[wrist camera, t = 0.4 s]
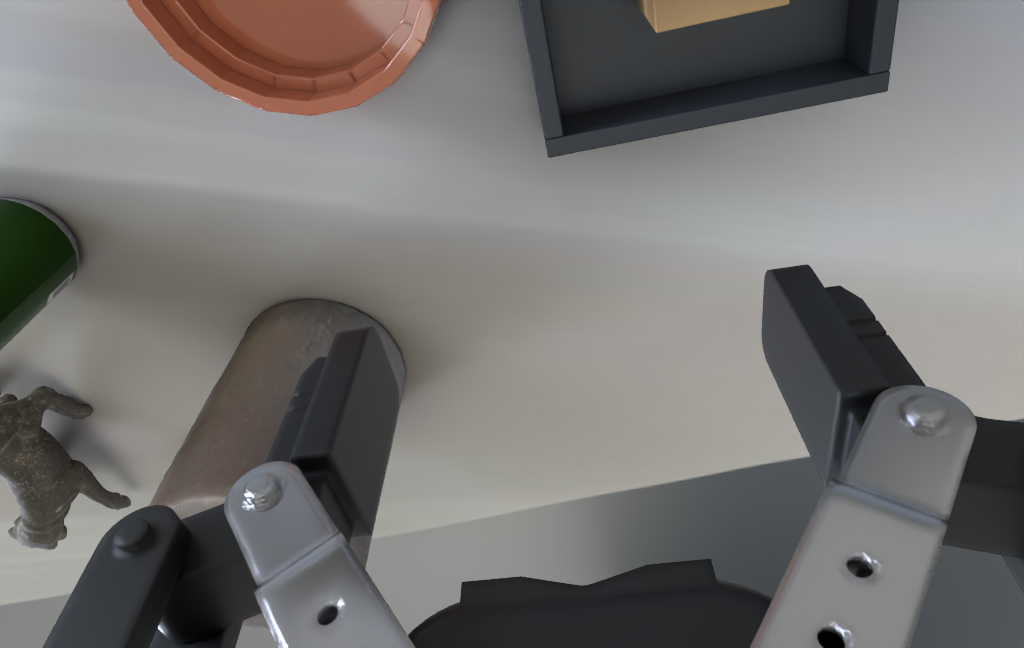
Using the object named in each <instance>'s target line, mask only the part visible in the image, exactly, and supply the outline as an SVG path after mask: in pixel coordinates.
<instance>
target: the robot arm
mask: <svg viewBox="0 0 1024 648" xmlns="http://www.w3.org/2000/svg"><path fill="white" fill-rule="evenodd" d="M762 344H763V350H764V354H765V358H766V360H767V363H768V365H769V367H770V370H771V372H772V374H773V376H774V378H775V380H776V382H777V385H778V387H779V389H780V391H781V393H782V395H783V398H784V400H785V402H786V404H787V406H788V408H789V411H790V413H791V415H792V417H793V419H794V421H795V423H796V426H797V428H798V430H799V432H800V434H801V436H802V439H803V441H804V443H805V445H806V447H807V449H808V452H809V454H810V456H811V458H812V460H813V462H814V464H815V467H816V469H817V471H818V473H819V475H820V477H821V480H822V482H823V484H824V486H825V490H824V492H823V494H822V497H821V499H820V501H819V503H818V505H817V507H816V509H815V511H814V513H813V516H812V518H811V520H810V522H809V524H808V526H807V528H806V530H805V532H804V534H803V537H802V539H801V541H800V543H799V545H798V547H797V549H796V551H795V553H794V555H793V558H792V560H791V562H790V564H789V566H788V568H787V570H786V572H785V575H784V577H783V579H782V581H781V583H780V585H779V587H778V589H777V591H776V593H775V596H774V598H772V597H770V596H768V595H766V594H765V593H763V592H761V591H759V590H756V589H753V588H751V587H748V586H746V585H743V584H739V583H736V582H731V581H728V580H723V579H716V577H715V573H714V569H713V565H712V562H711V559H704V560H693V561H682V562H671V563H661V564H651V565H645V566H643V567H639V568H637V569H634V570H631V571H628V572H625V573H622V574H619V575H616V576H613V577H611V578H608V579H605V580H602V581H599V582H596V583H593V584H590V585H584V586H579V585H572V584H566V583H559V582H553V581H546V580H540V579H533V578H527V577H511V578H500V579H490V580H479V581H468V582H462V587H461V599H460V602H459V603H456V604H453V605H451V606H449V607H447V608H445V609H443V610H441V611H439V612H437V613H436V614H434V615H432V616H431V617H429V618H428V619H426V620H425V621H424V622H422V623H421V624H420V625H419V626H417V627H416V628H415V629H414V630H413V631H412V632H411V633H410V634H409V635H407V634H406V632H405V631H404V629H403V627H402V626H401V625H400V623H399V621H398V620H397V618H396V617H395V615H394V614H393V612H392V610H391V609H390V607H389V606H388V604H387V603H386V601H385V600H384V598H383V597H382V595H381V593H380V592H379V590H378V589H377V587H376V586H375V584H374V582H373V581H372V579H371V578H370V576H369V575H368V573H367V572H366V570H365V568H364V567H363V565H362V564H361V562H360V561H359V559H358V557H357V556H356V554H355V553H354V551H353V550H352V548H351V547H350V545H349V544H350V540H351V537H359V536H369V535H372V531H373V526H374V521H375V517H376V512H377V507H378V503H379V498H380V494H381V489H382V484H383V480H384V475H385V470H386V466H387V461H388V457H389V452H390V447H391V443H392V438H393V433H394V429H395V424H396V420H397V415H398V410H399V389H398V384H397V380H396V378H395V375H394V372H393V370H392V367H391V365H390V362H389V360H388V357H387V354H386V352H385V349H384V347H383V344H382V342H381V339H380V337H379V334H378V332H377V330H376V329H375V328H374V327H372V326H371V327H364V328H357V329H350V330H343V331H338V332H337V333H336V334H335V337H334V339H333V342H332V345H331V347H330V350H329V353H328V355H327V356H326V357H319V358H316V359H315V361H314V362H313V363H312V364H311V365H310V366H309V367H308V368H307V369H306V370H305V371H304V373H303V374H302V375H301V377H300V379H299V382H298V384H297V386H296V389H295V391H294V397H292V399H291V401H290V403H289V406H288V408H287V409H288V412H286V413H285V416H284V418H283V421H282V423H281V425H280V428H279V430H278V433H277V435H276V438H275V440H274V442H273V445H272V447H271V450H270V452H269V455H268V457H267V459H266V462H265V464H263V465H260V466H258V467H256V468H254V469H252V470H251V471H249V472H247V473H246V474H245V475H243V476H242V477H241V478H240V479H239V480H238V481H237V482H236V483H235V484H234V485H233V486H232V488H231V489H230V491H229V492H228V494H227V496H226V499H225V502H224V503H223V504H221V505H218V506H216V507H213V508H211V509H208V510H205V511H203V512H200V513H197V514H195V515H192V516H190V517H187V518H184V519H182V520H181V519H180V518H179V516H178V515H177V514H176V513H175V511H174V510H173V509H172V508H170V507H168V506H165V505H152V506H148V507H144V508H142V509H139V510H137V511H135V512H132V513H131V514H129V515H127V516H126V517H124V518H123V519H121V520H120V521H118V522H117V523H116V524H115V525H114V526H113V527H112V528H111V529H110V530H109V531H108V532H107V533H106V534H105V535H104V537H103V538H102V539H101V541H100V542H99V544H98V546H97V548H96V549H95V551H94V553H93V555H92V557H91V559H90V561H89V562H88V564H87V566H86V568H85V570H84V572H83V574H82V575H81V577H80V579H79V581H78V583H77V585H76V587H75V588H74V590H73V592H72V594H71V596H70V598H69V600H68V601H67V604H66V605H65V607H64V609H63V611H62V613H61V614H60V616H59V618H58V620H57V622H56V624H55V626H54V627H53V629H52V631H51V633H50V635H49V637H48V639H47V640H46V642H45V644H44V646H43V648H235V646H236V643H237V640H238V636H239V633H240V630H241V626H242V623H243V621H244V620H246V619H248V618H251V617H253V616H256V615H258V614H261V613H263V615H264V617H265V619H266V622H267V624H268V626H269V628H270V630H271V633H272V635H273V638H274V640H275V642H276V644H277V647H278V648H910V645H911V642H912V638H913V635H914V632H915V629H916V626H917V622H918V619H919V616H920V613H921V610H922V606H923V603H924V600H925V597H926V593H927V590H928V587H929V584H930V581H931V577H932V574H933V571H934V568H935V565H936V561H937V558H938V555H939V552H940V548H941V545H947V546H953V547H959V548H964V549H970V550H976V551H982V552H987V553H993V554H999V555H1002V557H1003V559H1004V560H1005V562H1006V564H1007V566H1008V567H1009V569H1010V571H1011V572H1012V574H1013V576H1014V577H1015V579H1016V581H1017V582H1018V584H1019V586H1020V588H1021V589H1022V591H1023V593H1024V423H1021V422H1012V421H1003V420H994V419H987V418H982V417H977V416H974V414H973V413H972V411H971V410H970V409H969V408H968V407H967V406H966V405H965V404H964V403H963V402H962V401H960V400H959V399H957V398H956V397H954V396H952V395H950V394H948V393H946V392H944V391H941V390H938V389H935V388H931V387H926V386H925V384H924V383H923V381H922V380H921V379H920V377H919V376H918V375H917V373H916V372H915V371H914V369H913V368H912V366H911V365H910V364H909V362H908V361H907V360H906V358H905V357H904V355H903V354H902V353H901V351H900V350H899V349H898V347H897V346H896V345H895V343H894V342H893V340H892V339H891V338H890V336H889V335H886V331H885V330H884V328H883V327H882V325H881V324H880V323H879V321H876V319H875V316H874V314H873V313H872V312H871V310H870V309H869V308H868V306H867V305H866V304H865V302H864V301H863V299H861V298H859V297H858V296H856V295H854V294H853V293H851V292H849V291H848V290H846V289H845V288H843V287H841V286H834V287H827V288H824V286H823V285H822V283H821V282H820V280H819V279H818V277H817V276H816V274H815V273H814V271H813V270H812V268H811V267H810V266H809V265H800V266H793V267H786V268H779V269H772V270H768V271H767V272H766V274H765V279H764V296H763V315H762ZM157 628H158V629H157ZM155 633H156V634H155ZM153 638H154V639H153ZM151 643H152V644H151Z"/></svg>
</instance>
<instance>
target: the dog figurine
mask: <svg viewBox="0 0 1024 648" xmlns="http://www.w3.org/2000/svg"><path fill="white" fill-rule="evenodd" d="M0 395H1V393H0ZM46 409H50V410H52V411H55V412H57V413H60V414H62V415H64V416H68V417H71V418H73V419H84V418H86V417H87V416H90V415H91V414H92V411H91V409H90V408H89V407H88V406H86V405H84V404H80V403H78V402H76V401H75V400H74V399H73V398H71V397H69V396H65V395H62V394H59V393H58V392H56V391H55V390H53V389H52V388H49V387H46V386H42V387H39V388H37V389H35V390H34V391H33V392H32V393H31V394H30V395H28V396H27V397H25V398H23V399H20V400H17V398H16V397H15V396H14V395H12V394H5V395H3V396H2V397H0V476H2V477H3V478H4V479H5V480H6V481H7V482H8V483H9V485H10V487H11V489H12V491H13V493H14V495H15V497H16V500H17V503H18V505H19V508H20V511H21V516H20V517H19V518H18V519H16V520H15V522H14V524H15V527H12V528H11V529H9V530H8V533H9V535H10V536H11V537H12V538H14V539H15V540H17V541H18V542H19V543H20V544H22V545H25V546H28V547H31V548H39V549H45V550H51V549H55V547H56V546H57V542H58V541H59V540H63V539H65V538H66V535H67V528H66V527H65V525H64V518H65V517H66V515H67V513H68V511H69V509H70V506H71V503H72V502H73V500H74V499H75V498H76V496H77V495H78V493H82V494H84V495H86V496H87V497H89V498H90V499H92V500H94V501H96V502H98V503H101V504H103V505H104V506H106V507H108V508H111V509H115V510H119V509H121V508H126V507H128V506H130V505H131V501H130V499H129V498H128V497H127V496H124V495H120V494H119V493H112V492H109V491H107V490H106V489H104V488H103V487H102V485H101V484H100V483H99V482H98V481H97V479H96V478H95V476H94V475H93V473H92V472H91V471H90V470H89V469H88V468H87V467H86V466H85V465H84V464H83V463H82V462H80V461H77V460H72V459H71V457H70V456H69V454H68V453H67V452H66V451H65V449H64V448H63V447H62V446H61V444H60V443H59V442H58V441H57V440H56V439H55V438H54V437H53V436H52V435H51V434H49V433H48V432H47V431H46V430H45V429H43V428H42V427H41V422H42V416H43V413H44V411H45V410H46Z"/></svg>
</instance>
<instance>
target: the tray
mask: <svg viewBox="0 0 1024 648" xmlns="http://www.w3.org/2000/svg"><path fill="white" fill-rule="evenodd" d="M898 2H899V0H790V1H789V4H788V5H784V6H779V7H774V8H770V9H765V10H761V11H756V12H751V13H747V14H742V15H738V16H733V17H728V18H724V19H719V20H715V21H710V22H705V23H701V24H696V25H692V26H687V27H682V28H678V29H673V30H669V31H664V32H659V33H656V32H655V30H654V29H653V27H652V26H651V24H650V23H649V21H648V20H647V19H646V17H645V16H644V14H643V13H642V11H641V10H640V8H639V7H638V2H637V0H519V5H520V10H521V15H522V21H523V26H524V31H525V37H526V42H527V47H528V52H529V58H530V63H531V68H532V74H533V79H534V84H535V90H536V95H537V100H538V106H539V111H540V116H541V122H542V127H543V132H544V137H545V143H546V148H547V153H548V157H555V156H560V155H565V154H570V153H575V152H580V151H586V150H591V149H596V148H601V147H606V146H611V145H616V144H621V143H626V142H631V141H636V140H642V139H647V138H652V137H657V136H662V135H667V134H672V133H677V132H682V131H687V130H693V129H698V128H703V127H708V126H713V125H718V124H723V123H728V122H733V121H738V120H744V119H749V118H754V117H759V116H764V115H769V114H774V113H779V112H784V111H789V110H795V109H800V108H805V107H810V106H815V105H820V104H825V103H830V102H835V101H840V100H845V99H851V98H856V97H861V96H866V95H871V94H876V93H881V92H886V91H887V90H888V84H889V76H890V71H889V70H890V65H891V57H892V49H893V42H894V34H895V26H896V18H897V10H898Z"/></svg>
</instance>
